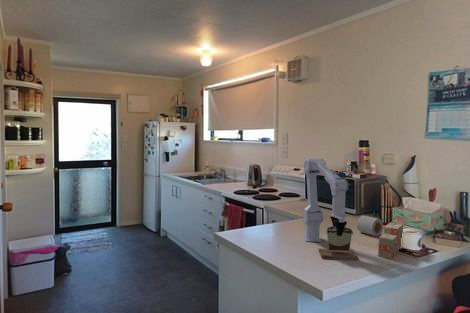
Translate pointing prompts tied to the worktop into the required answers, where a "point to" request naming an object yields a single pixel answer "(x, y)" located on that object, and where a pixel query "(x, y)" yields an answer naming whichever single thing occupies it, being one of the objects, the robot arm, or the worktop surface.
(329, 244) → the food container
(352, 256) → the walnut base
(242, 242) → the worktop surface
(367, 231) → the toilet paper
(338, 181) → the robot arm
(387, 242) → the stack of blocks
